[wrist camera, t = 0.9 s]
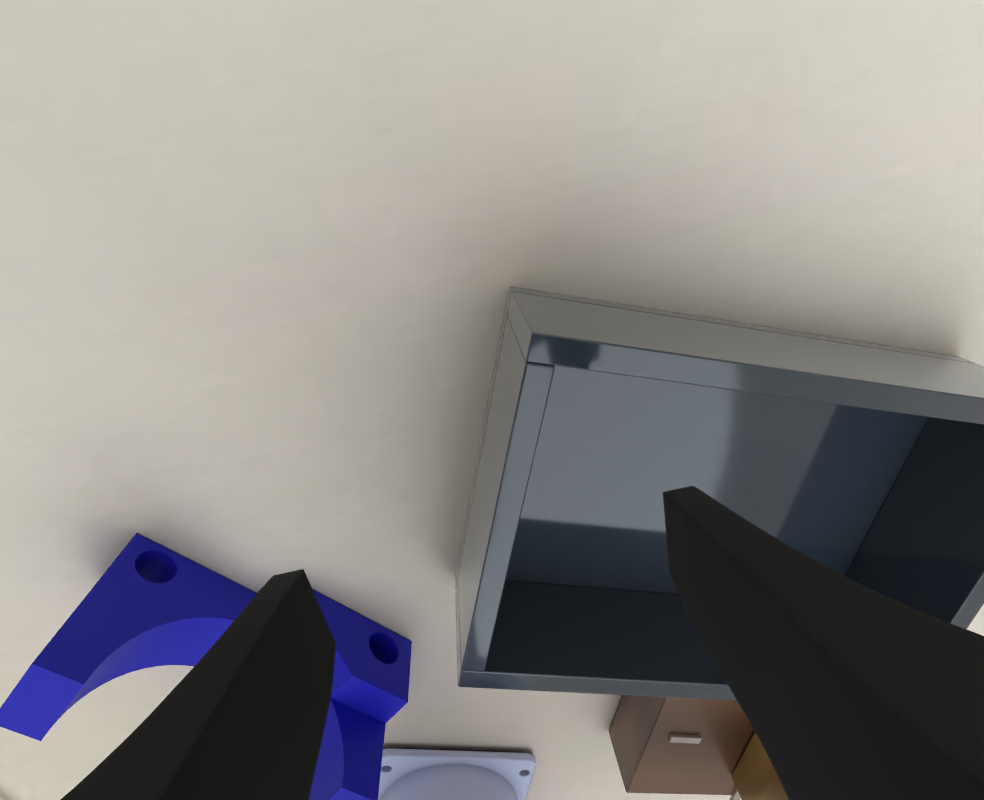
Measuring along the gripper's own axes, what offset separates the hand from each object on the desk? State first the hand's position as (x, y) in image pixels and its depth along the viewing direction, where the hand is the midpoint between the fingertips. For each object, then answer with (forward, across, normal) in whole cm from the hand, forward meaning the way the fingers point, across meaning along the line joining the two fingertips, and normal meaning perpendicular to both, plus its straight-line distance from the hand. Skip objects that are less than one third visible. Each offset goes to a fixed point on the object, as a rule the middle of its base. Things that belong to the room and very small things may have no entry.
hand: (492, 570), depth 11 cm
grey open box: (+10, -8, +6) cm, 14 cm away
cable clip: (+10, +11, +8) cm, 17 cm away
